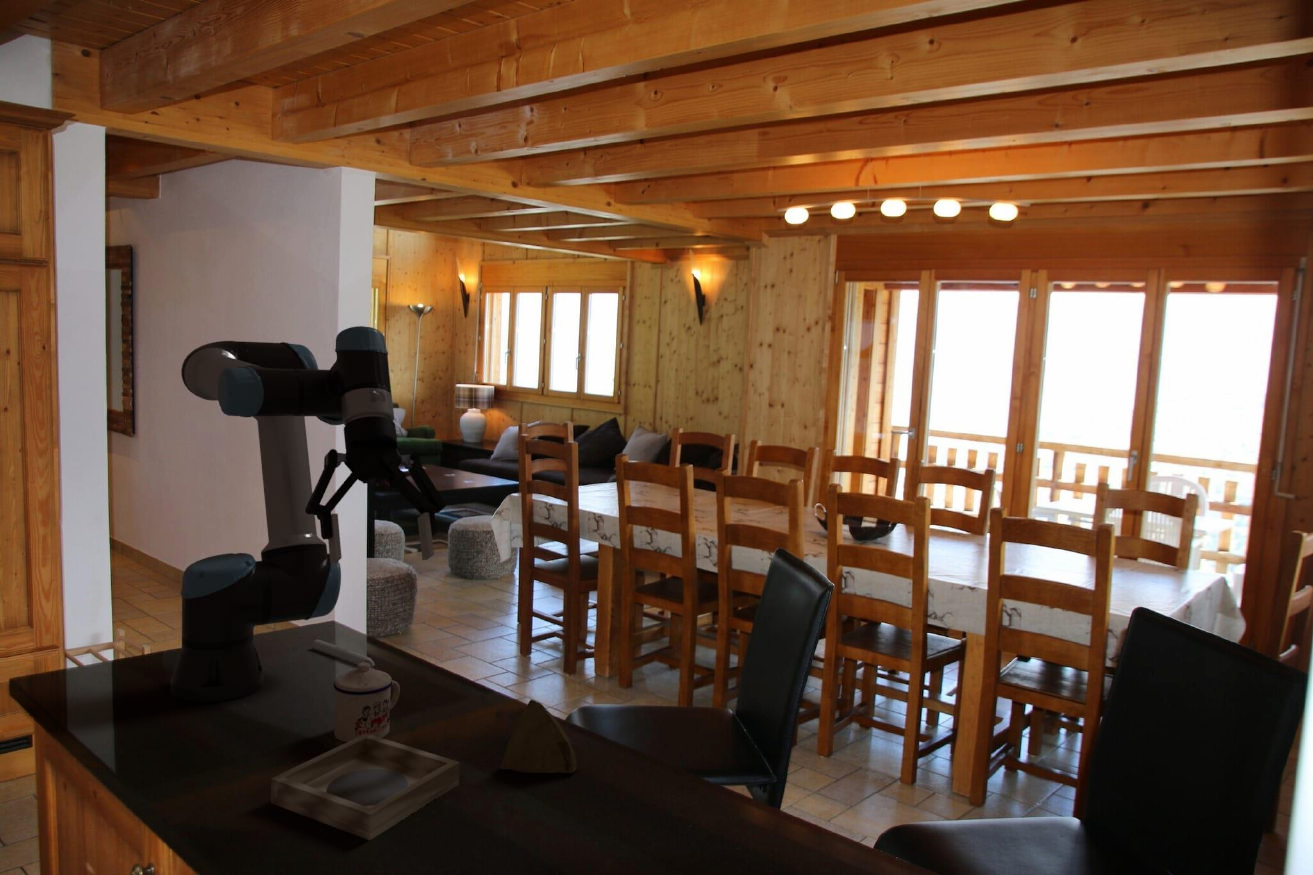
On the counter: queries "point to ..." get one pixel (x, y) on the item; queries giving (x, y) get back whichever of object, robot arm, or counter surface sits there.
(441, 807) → the counter surface
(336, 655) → the marker
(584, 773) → the counter surface
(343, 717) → the teacup with lid
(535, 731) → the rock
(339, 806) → the housing tray
